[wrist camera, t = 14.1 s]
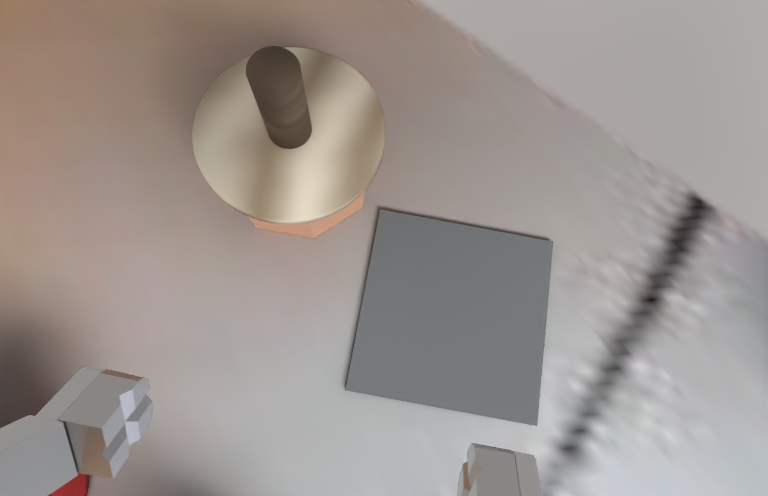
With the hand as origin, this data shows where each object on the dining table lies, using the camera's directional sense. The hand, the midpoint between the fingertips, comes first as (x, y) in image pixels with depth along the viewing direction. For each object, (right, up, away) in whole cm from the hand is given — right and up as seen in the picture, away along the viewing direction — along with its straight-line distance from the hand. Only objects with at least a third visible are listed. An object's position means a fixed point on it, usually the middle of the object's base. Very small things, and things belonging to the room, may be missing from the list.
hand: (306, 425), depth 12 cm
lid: (-5, +13, +24) cm, 28 cm away
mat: (+8, -1, +27) cm, 28 cm away
